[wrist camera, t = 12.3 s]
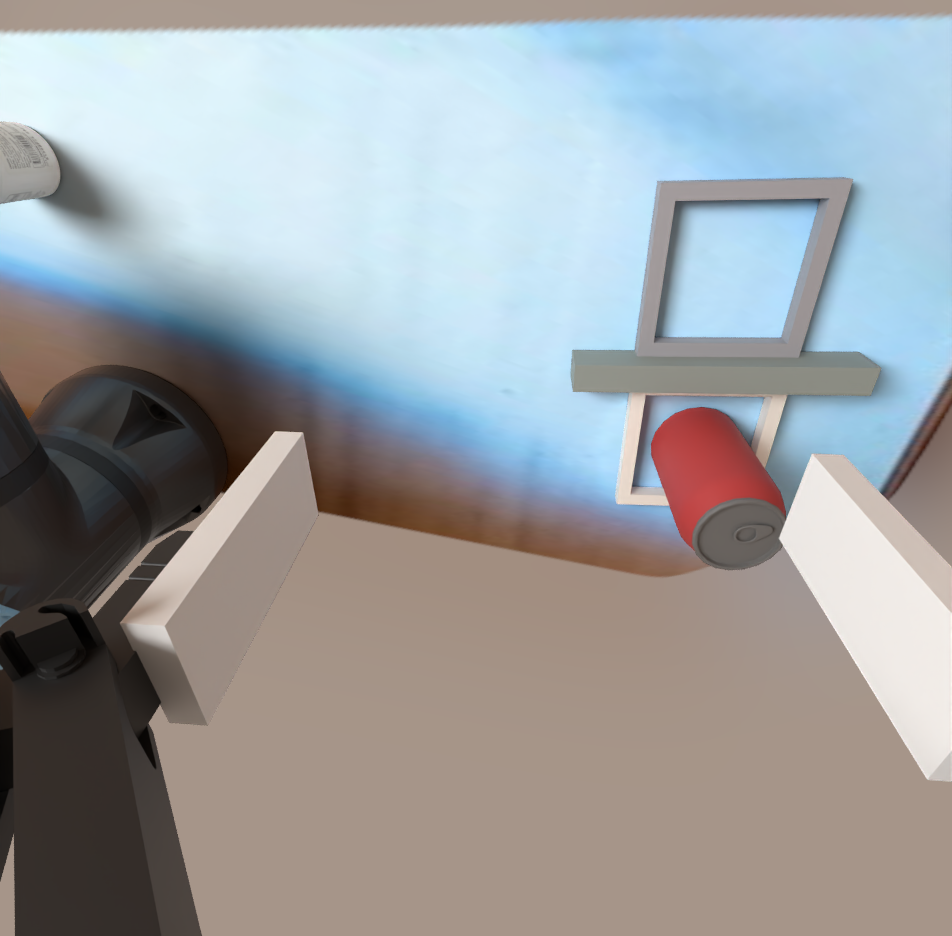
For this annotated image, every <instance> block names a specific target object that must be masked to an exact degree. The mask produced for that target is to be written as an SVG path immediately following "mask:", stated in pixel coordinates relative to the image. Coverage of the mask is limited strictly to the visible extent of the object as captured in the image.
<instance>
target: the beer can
mask: <svg viewBox="0 0 952 936" xmlns="http://www.w3.org/2000/svg"><path fill="white" fill-rule="evenodd" d="M651 456H652V458H653V461H654V464H655V467H656V470H657V472H658V475H659V478H660V481H661V484H662V486H663V489H664V492H665V495H666V498H667V500H668V503H669V506H670V509H671V512H672V514H673V517H674V520H675V523H676V526H677V528H678V530H679V533H680V535H681V537H682V538H683V540H684V541H685V542H686V543H687V544H688V545H689V546H690V547H691V548H692V549H693V550H694V551H695V553H696V555H697V556H698V557H699V558H700V559H701V560H702V561H703V562H704V563H706V564H708V565H710V566H713V567H715V568H719V569H725V570H740V569H746V568H750V567H753V566H757V565H759V564H761V563H763V562H765V561H766V560H768V559H770V558H772V557H773V556H774V555H775V554H776V553H777V552H778V551H779V550H780V549H781V548H782V546H783V544H782V543H781V541H780V539H779V537H780V534H781V532H782V529H783V527H784V524H785V521H786V510H785V506H784V502H783V499H782V496H781V492H780V491H779V489H778V488H777V486H776V485H775V483H774V482H773V480H772V479H771V477H770V476H769V474H768V473H767V471H766V470H765V468H764V467H763V465H762V464H761V462H760V461H759V459H758V458H757V456H756V455H755V453H754V452H753V450H752V449H751V447H750V446H749V444H748V443H747V441H746V440H745V438H744V437H743V435H742V434H741V432H740V431H739V430H738V428H737V427H736V425H735V424H734V423H733V421H732V420H731V419H730V418H729V417H728V416H727V415H726V414H724V413H722V412H720V411H718V410H716V409H710V408H704V407H698V408H689V409H686V410H683V411H680V412H678V413H675V414H674V415H672V416H671V417H670V418H668V419H667V420H665V421H664V422H663V423H662V425H661V426H660V427H659V428H658V430H657V431H656V432H655V435H654V438H653V440H652V443H651Z"/></svg>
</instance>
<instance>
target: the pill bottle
mask: <svg viewBox="0 0 952 936" xmlns="http://www.w3.org/2000/svg"><path fill="white" fill-rule="evenodd" d="M59 183H60V168H59V163H58V160H57V158H56V156H55V154H54V152H53V150H52V149H51V147H50V146H49V144H48V143H47V142H46V141H45V139H44V138H43V137H41V136H40V135H39V134H38V133H37V132H35V131H34V130H32V129H31V128H29V127H27V126H25V125H22V124H20V123H15V122H0V204H2V203H8V202H15V201H21V200H28V199H35V198H41V197H46V196H49V195H51V194H52V193H54V192H55V191H56V190H57V188H58V186H59Z"/></svg>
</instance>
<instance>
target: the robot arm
mask: <svg viewBox="0 0 952 936" xmlns="http://www.w3.org/2000/svg"><path fill="white" fill-rule="evenodd" d="M226 477H227V457H226V452H225V449H224V446H223V443H222V441H221V438H220V436H219V434H218V432H217V430H216V429H215V427H214V425H213V424H212V422H211V421H210V419H209V418H208V417H207V416H206V414H205V413H204V412H203V411H202V410H201V409H200V408H199V407H198V405H197V404H196V403H195V402H193V401H192V400H191V399H190V398H189V397H188V396H187V395H185V394H184V393H183V392H181V391H180V390H179V389H177V388H176V387H174V386H173V385H171V384H170V383H168V382H166V381H164V380H162V379H161V378H159V377H156V376H154V375H152V374H150V373H147V372H144V371H141V370H138V369H134V368H130V367H125V366H118V365H101V366H95V367H90V368H87V369H84V370H82V371H80V372H78V373H76V374H74V375H72V376H70V377H69V378H67V379H65V380H63V381H61V382H60V383H58V384H57V385H56V386H54V387H53V388H52V389H51V390H50V391H49V392H48V393H47V394H46V395H45V397H44V398H43V400H42V402H41V404H40V405H39V407H38V408H37V409H36V410H35V412H34V413H33V414H32V416H31V417H30V418H29V420H28V419H27V418H26V416H25V414H24V412H23V411H22V409H21V407H20V405H19V404H18V402H17V400H16V398H15V397H14V395H13V393H12V391H11V390H10V388H9V386H8V384H7V382H6V380H5V379H4V377H3V375H2V373H1V371H0V880H1V877H2V873H3V870H4V866H5V863H6V859H7V855H8V852H9V848H10V845H11V841H12V837H13V834H14V873H15V874H14V876H15V877H14V878H15V879H14V880H15V936H202V934H201V930H200V926H199V922H198V918H197V914H196V910H195V906H194V901H193V897H192V893H191V888H190V885H189V880H188V876H187V872H186V868H185V863H184V859H183V855H182V851H181V847H180V843H179V838H178V834H177V830H176V826H175V822H174V817H173V813H172V809H171V805H170V801H169V797H168V792H167V788H166V784H165V780H164V776H163V771H162V767H161V763H160V759H159V755H158V751H157V746H156V742H155V738H154V734H153V731H152V729H151V727H150V725H149V724H148V723H149V721H150V720H151V718H152V716H153V715H154V713H155V712H156V710H157V708H158V707H159V705H161V707H162V709H163V711H164V713H165V715H166V717H167V719H168V721H169V722H170V723H181V724H194V725H207V726H208V725H209V723H210V721H211V719H212V717H213V715H214V713H215V711H216V709H217V707H218V705H219V704H220V702H221V700H222V698H223V696H224V694H225V692H226V690H227V688H228V687H229V685H230V683H231V681H232V679H233V677H234V675H235V673H236V671H237V669H238V667H239V665H240V663H241V662H242V660H243V658H244V656H245V654H246V652H247V650H248V648H249V646H250V645H251V643H252V641H253V639H254V637H255V635H256V633H257V631H258V629H259V627H260V626H261V624H262V622H263V620H264V618H265V616H266V614H267V612H268V610H269V608H270V606H271V605H272V603H273V601H274V599H275V597H276V595H277V593H278V591H279V589H280V587H281V585H282V584H283V582H284V580H285V578H286V576H287V574H288V572H289V570H290V568H291V567H292V565H293V563H294V561H295V559H296V557H297V555H298V553H299V551H300V549H301V547H302V546H303V544H304V542H305V540H306V538H307V536H308V534H309V532H310V530H311V528H312V526H313V525H314V523H315V521H316V519H317V517H318V509H317V504H316V499H315V493H314V488H313V483H312V477H311V472H310V466H309V461H308V456H307V450H306V445H305V440H304V434H303V432H281V431H275V432H274V433H273V435H272V436H271V437H270V438H269V440H268V441H267V442H266V443H265V444H264V446H263V447H262V448H261V449H260V451H259V452H258V453H257V454H256V456H255V457H254V458H253V459H252V461H251V462H250V463H249V464H248V465H247V467H246V468H245V469H244V470H243V472H242V473H241V474H240V475H239V477H238V478H237V479H236V480H235V482H234V483H233V484H232V485H231V486H230V488H229V489H228V490H227V491H226V493H225V494H224V495H223V496H222V498H221V499H220V500H219V501H218V503H217V504H216V505H215V506H214V507H213V509H212V510H211V511H210V512H209V514H208V515H207V516H206V517H205V519H204V520H203V521H202V522H201V524H200V525H199V526H198V527H197V528H196V530H195V531H177V532H175V533H174V534H172V535H171V536H169V537H168V538H166V539H165V540H163V541H162V542H160V543H159V544H157V545H156V546H155V547H154V548H153V550H152V551H151V552H150V553H149V554H148V555H147V556H146V557H145V559H144V560H143V561H142V562H141V563H142V564H141V566H138V567H137V568H136V569H135V570H134V571H133V572H132V574H131V575H130V576H129V580H126V581H125V582H124V583H123V584H122V585H121V586H120V587H119V588H118V590H117V591H116V592H115V593H114V594H113V595H112V597H111V598H110V599H109V600H108V601H107V602H106V603H105V604H104V606H103V607H102V608H101V609H100V610H99V611H98V613H97V614H96V615H95V616H94V617H93V618H92V617H91V615H90V613H89V611H88V609H89V608H90V607H91V606H92V604H93V603H94V602H95V601H96V600H97V599H98V598H99V596H101V594H102V593H103V592H104V591H105V590H106V589H107V588H108V587H109V585H110V584H111V583H112V582H113V581H114V580H115V579H116V578H117V576H118V575H119V574H120V573H121V572H122V571H123V570H124V568H125V567H126V566H127V565H128V564H129V563H130V562H131V561H132V560H133V558H134V557H135V556H136V555H137V554H138V553H139V552H140V551H141V550H142V548H143V547H144V546H145V545H146V544H148V543H150V542H152V541H153V540H155V539H157V538H159V537H161V536H163V535H165V534H167V533H169V532H171V531H173V530H175V529H177V528H179V527H181V526H183V525H185V524H186V523H188V522H190V521H192V520H194V519H195V518H197V517H198V516H199V515H201V514H202V513H203V512H204V511H205V510H206V509H207V508H208V507H209V506H210V505H211V503H212V502H213V501H214V500H215V499H216V498H217V496H218V495H219V494H220V492H221V491H222V489H223V487H224V484H225V481H226ZM779 539H780V541H781V543H782V544H783V546H784V548H785V549H786V551H787V552H788V554H789V556H790V557H791V559H792V560H793V562H794V564H795V565H796V567H797V569H798V570H799V572H800V574H801V575H802V577H803V578H804V580H805V582H806V583H807V585H808V587H809V588H810V590H811V591H812V593H813V595H814V596H815V598H816V600H817V601H818V603H819V604H820V606H821V608H822V609H823V611H824V613H825V614H826V616H827V617H828V619H829V621H830V622H831V624H832V626H833V627H834V629H835V630H836V632H837V634H838V635H839V637H840V639H841V640H842V642H843V643H844V645H845V647H846V648H847V650H848V651H849V653H850V655H851V656H852V658H853V660H854V661H855V663H856V665H857V666H858V668H859V669H860V671H861V673H862V674H863V676H864V678H865V679H866V681H867V682H868V684H869V686H870V687H871V689H872V690H873V692H874V694H875V695H876V697H877V699H878V700H879V702H880V703H881V705H882V707H883V708H884V710H885V712H886V713H887V715H888V717H889V718H890V720H891V721H892V723H893V725H894V726H895V728H896V730H897V731H898V733H899V734H900V736H901V738H902V739H903V741H904V743H905V744H906V746H907V747H908V749H909V751H910V752H911V754H912V756H913V757H914V759H915V760H916V762H917V764H918V765H919V767H920V769H921V770H922V772H923V773H924V775H925V777H926V778H927V780H937V781H951V782H952V567H951V566H950V565H949V564H948V563H947V562H946V561H945V560H944V559H943V557H941V556H940V554H939V553H938V552H937V551H936V550H935V549H934V548H933V547H932V546H931V545H930V544H929V543H928V542H927V541H926V540H925V539H924V538H923V537H922V536H921V535H920V534H919V533H918V532H917V531H916V530H915V528H914V527H913V526H911V524H910V523H909V522H908V521H906V519H905V518H904V517H903V516H902V515H901V514H900V513H899V512H898V511H897V510H896V509H895V508H894V507H893V506H892V505H891V504H890V503H889V502H888V501H887V499H886V498H885V497H884V496H883V495H882V494H881V493H880V492H879V491H878V490H877V489H876V488H875V487H874V486H873V485H872V484H871V483H870V482H869V481H868V480H867V479H866V478H865V477H864V476H863V475H862V474H861V473H860V472H859V471H858V469H857V468H856V467H855V466H854V465H853V464H852V463H851V462H850V461H849V460H848V459H847V458H846V457H845V456H844V455H831V454H812V455H811V458H810V460H809V463H808V465H807V468H806V470H805V473H804V476H803V478H802V481H801V483H800V486H799V488H798V491H797V493H796V496H795V498H794V501H793V504H792V506H791V509H790V511H789V514H788V516H787V519H786V521H785V524H784V527H783V529H782V532H781V534H780V537H779Z"/></svg>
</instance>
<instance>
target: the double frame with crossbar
mask: <svg viewBox="0 0 952 936" xmlns="http://www.w3.org/2000/svg"><path fill="white" fill-rule="evenodd" d="M852 182H853V179H850V178H844V177H836V178H788V179H739V180H690V181H657V188H656V196H655V203H654V211H653V218H652V225H651V233H650V240H649V248H648V255H647V262H646V270H645V277H644V285H643V292H642V299H641V307H640V314H639V322H638V329H637V336H636V344H635V350H572V363H571V381H572V388H573V392H626V393H629V396H628V403H627V410H626V418H625V425H624V433H623V440H622V448H621V455H620V462H619V470H618V477H617V485H616V492H615V498H616V503H617V504H632V505H664V506H669V503H668V500H667V498H666V495H665V492H664V489H663V487H632V481H633V474H634V468H635V461H636V455H637V448H638V442H639V435H640V429H641V422H642V416H643V409H644V403H645V396H646V395H673V396H746V397H764V401H763V404H762V408H761V411H760V415H759V419H758V422H757V426H756V429H755V433H754V436H753V440H752V443H751V449H752V450H753V452H754V453H755V455H756V456H757V458H758V459H759V461H760V462H761V464H762V465H763V467H764V468H765V467H766V464H767V461H768V457H769V454H770V451H771V447H772V444H773V441H774V438H775V434H776V431H777V428H778V424H779V421H780V418H781V415H782V411H783V408H784V405H785V401H786V398H787V395H851V396H871V393H872V391H873V388H874V386H875V383H876V381H877V378H878V376H879V373H880V371H881V367H879V366H878V365H877V364H875V363H874V362H872V361H871V360H869V359H868V358H867V357H865V356H864V355H862V354H861V353H859V352H801V349H802V346H803V342H804V339H805V336H806V333H807V329H808V326H809V323H810V319H811V316H812V313H813V310H814V306H815V303H816V300H817V297H818V293H819V290H820V287H821V283H822V280H823V277H824V274H825V270H826V267H827V264H828V260H829V257H830V254H831V251H832V247H833V244H834V241H835V237H836V234H837V231H838V228H839V224H840V221H841V218H842V214H843V211H844V208H845V205H846V201H847V198H848V195H849V192H850V188H851V185H852ZM816 198H820V201H819V205H818V208H817V212H816V216H815V219H814V223H813V226H812V230H811V233H810V237H809V241H808V244H807V248H806V251H805V255H804V258H803V262H802V265H801V269H800V273H799V276H798V280H797V283H796V287H795V290H794V294H793V297H792V301H791V305H790V308H789V312H788V315H787V319H786V322H785V326H784V330H783V333H782V337H781V338H713V337H655V331H656V324H657V318H658V311H659V305H660V298H661V292H662V285H663V279H664V272H665V266H666V259H667V253H668V246H669V240H670V233H671V227H672V220H673V214H674V207H675V201H700V200H758V199H816Z"/></svg>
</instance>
